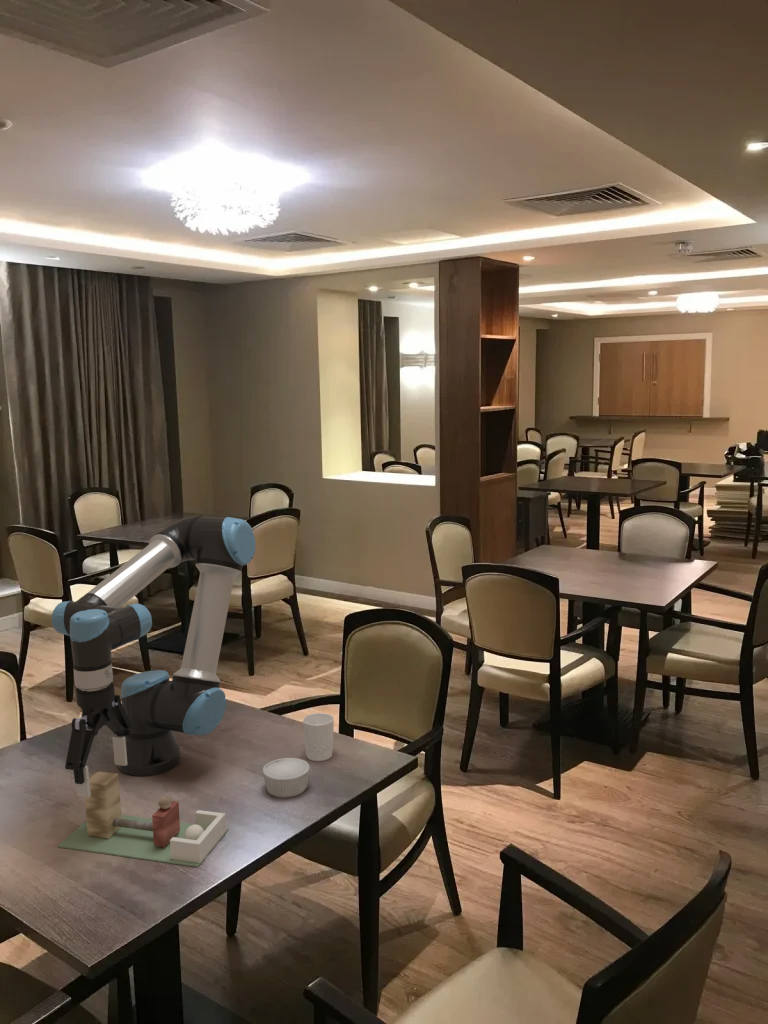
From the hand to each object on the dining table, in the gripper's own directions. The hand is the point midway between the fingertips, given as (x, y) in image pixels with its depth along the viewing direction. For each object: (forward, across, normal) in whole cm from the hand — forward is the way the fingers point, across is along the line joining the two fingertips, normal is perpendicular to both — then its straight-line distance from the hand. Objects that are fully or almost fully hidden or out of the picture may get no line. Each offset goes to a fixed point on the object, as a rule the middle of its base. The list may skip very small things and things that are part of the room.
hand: (103, 779), depth 169 cm
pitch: (+12, -1, -9) cm, 15 cm away
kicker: (+11, -1, -7) cm, 13 cm away
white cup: (+13, +44, -33) cm, 57 cm away
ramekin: (+13, +26, -31) cm, 42 cm away
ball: (+10, -1, -21) cm, 23 cm away
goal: (+12, -1, -23) cm, 26 cm away
